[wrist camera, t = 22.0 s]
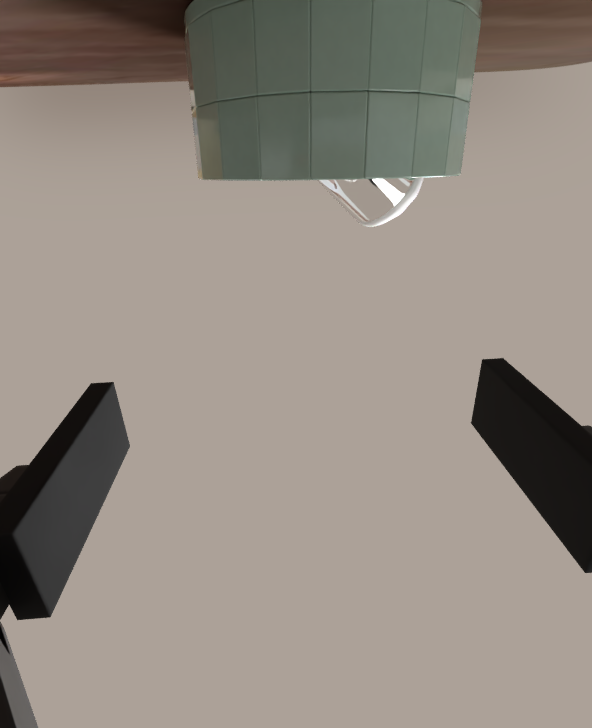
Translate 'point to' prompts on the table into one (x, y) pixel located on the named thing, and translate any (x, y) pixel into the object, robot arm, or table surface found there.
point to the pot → (330, 87)
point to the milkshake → (374, 197)
